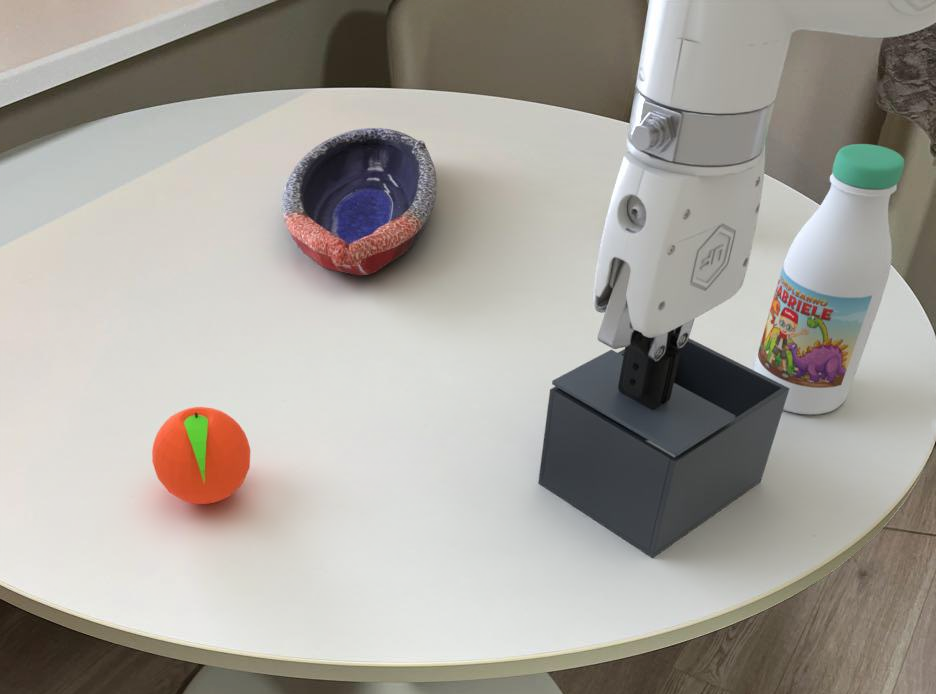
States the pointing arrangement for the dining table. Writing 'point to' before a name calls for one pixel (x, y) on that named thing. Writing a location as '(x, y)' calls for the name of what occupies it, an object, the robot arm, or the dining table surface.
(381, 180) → the dish
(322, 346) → the dining table surface
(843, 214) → the milk bottle
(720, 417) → the flap
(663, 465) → the bin
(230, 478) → the clementine
